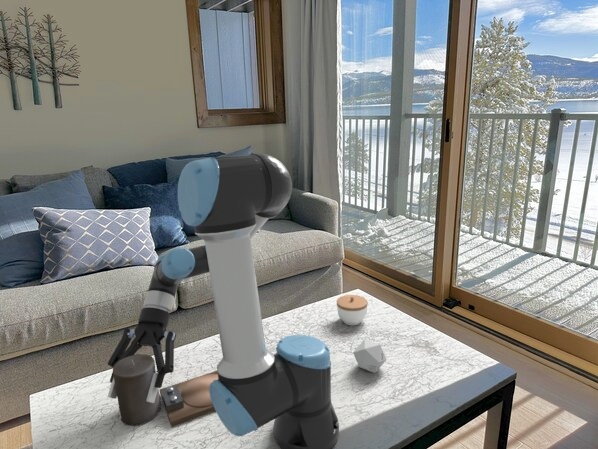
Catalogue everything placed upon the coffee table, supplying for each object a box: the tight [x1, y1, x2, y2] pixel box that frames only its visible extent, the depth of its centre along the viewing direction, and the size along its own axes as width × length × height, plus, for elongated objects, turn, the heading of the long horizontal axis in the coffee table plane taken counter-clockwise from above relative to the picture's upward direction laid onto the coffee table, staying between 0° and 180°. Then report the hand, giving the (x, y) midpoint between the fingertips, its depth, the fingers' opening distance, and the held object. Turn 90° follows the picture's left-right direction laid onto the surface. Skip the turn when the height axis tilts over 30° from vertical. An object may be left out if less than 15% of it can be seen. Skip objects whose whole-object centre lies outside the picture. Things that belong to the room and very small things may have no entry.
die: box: [353, 339, 387, 374], centre depth 118 cm, size 8×9×10 cm
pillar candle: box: [112, 353, 161, 426], centre depth 102 cm, size 10×10×15 cm
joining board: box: [159, 370, 218, 428], centre depth 109 cm, size 14×22×2 cm, turn 119°
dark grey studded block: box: [161, 385, 184, 413], centre depth 109 cm, size 7×22×3 cm, turn 119°
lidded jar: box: [336, 294, 369, 326], centre depth 144 cm, size 11×11×9 cm
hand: (130, 399), depth 100 cm, fingers closed on pillar candle, 10 cm apart
